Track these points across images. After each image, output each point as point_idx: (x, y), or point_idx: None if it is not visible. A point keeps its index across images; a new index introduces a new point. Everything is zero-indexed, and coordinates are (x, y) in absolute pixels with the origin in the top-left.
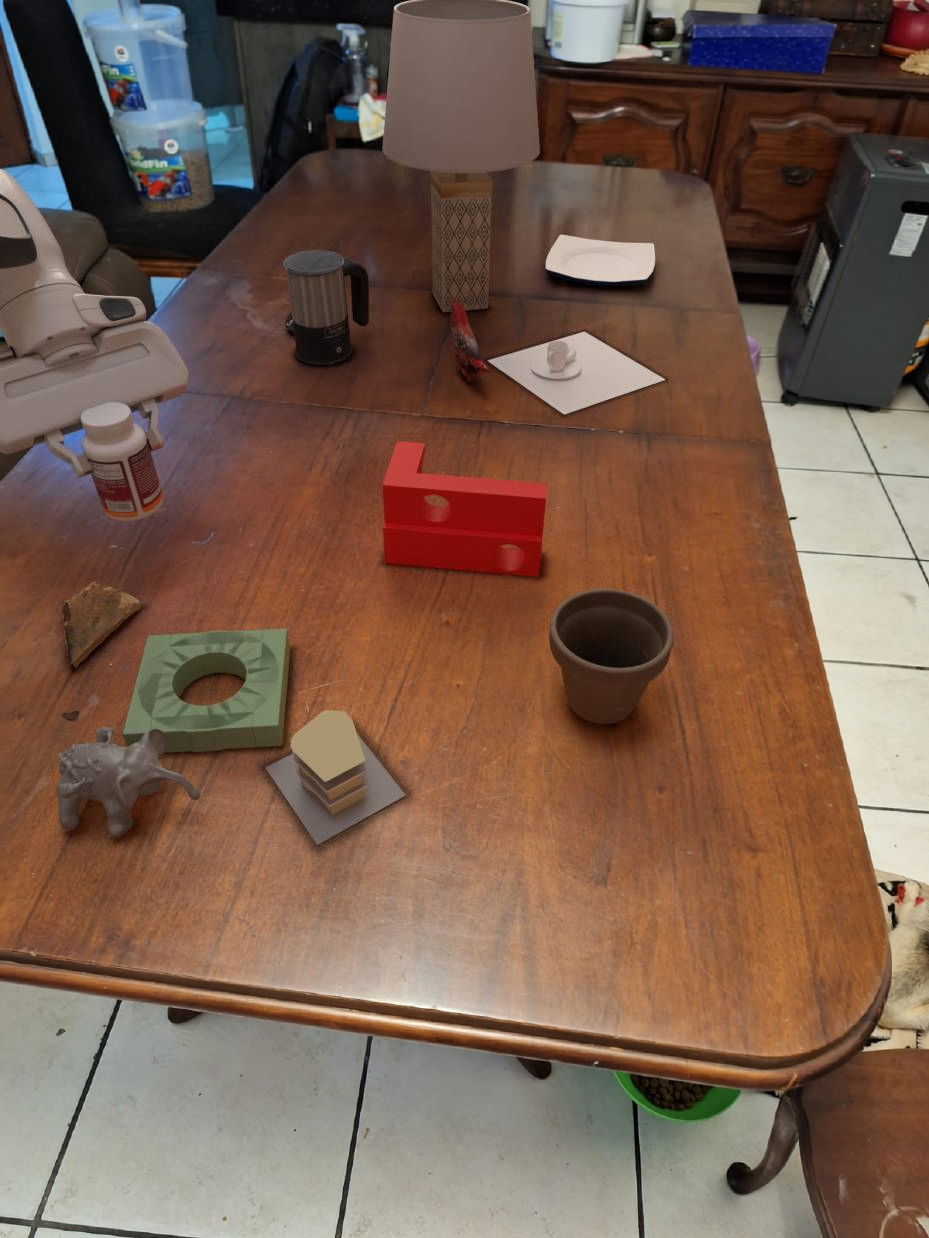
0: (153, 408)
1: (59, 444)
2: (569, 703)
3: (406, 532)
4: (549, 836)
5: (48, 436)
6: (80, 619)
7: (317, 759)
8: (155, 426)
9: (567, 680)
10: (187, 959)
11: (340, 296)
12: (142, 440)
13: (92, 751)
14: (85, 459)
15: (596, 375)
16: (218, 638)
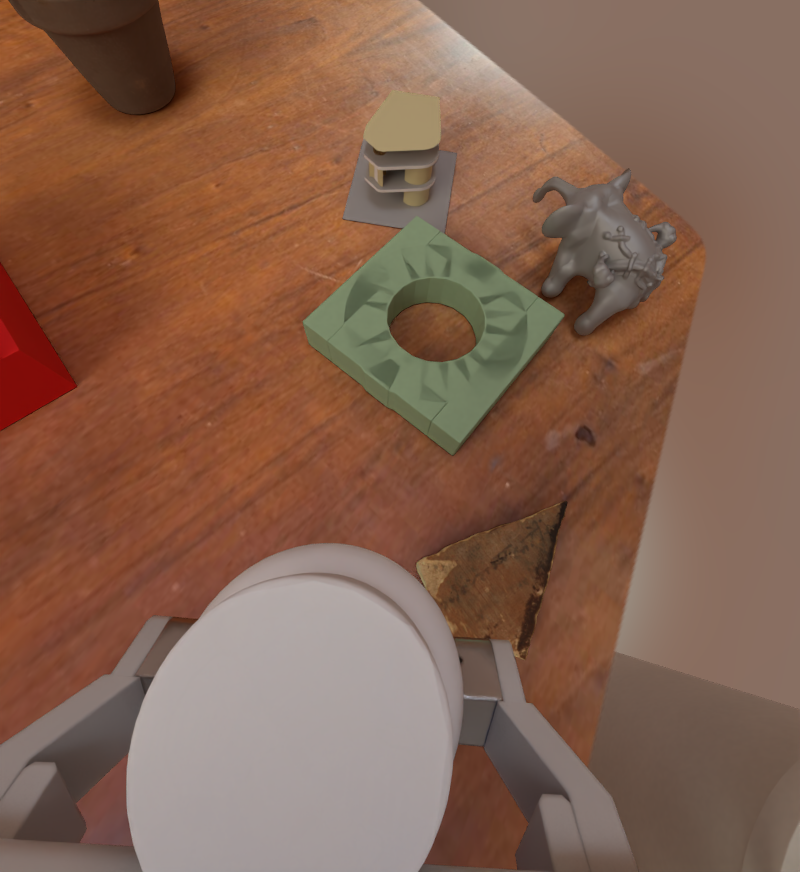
0: (3, 768)
1: (568, 783)
2: (167, 97)
3: (5, 322)
4: (307, 55)
5: (626, 861)
6: (517, 582)
7: (428, 116)
8: (108, 680)
9: (157, 40)
10: (592, 151)
11: None
12: (237, 577)
13: (636, 230)
14: (470, 670)
15: None
16: (385, 367)
